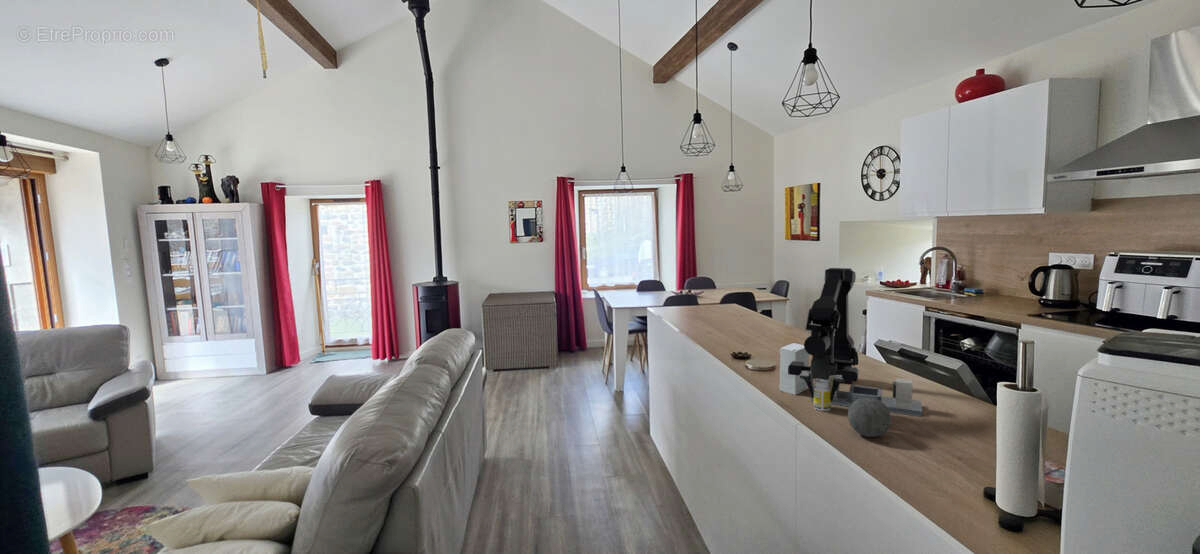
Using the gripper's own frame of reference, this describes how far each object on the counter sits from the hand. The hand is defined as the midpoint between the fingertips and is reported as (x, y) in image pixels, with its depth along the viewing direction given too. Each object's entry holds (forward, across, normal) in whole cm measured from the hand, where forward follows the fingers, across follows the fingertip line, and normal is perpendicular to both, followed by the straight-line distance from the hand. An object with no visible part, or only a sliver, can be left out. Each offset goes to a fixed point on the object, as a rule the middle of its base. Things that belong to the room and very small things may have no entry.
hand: (822, 399), depth 156 cm
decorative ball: (+3, +13, -15) cm, 20 cm away
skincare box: (+3, -10, +13) cm, 17 cm away
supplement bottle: (+3, 0, 0) cm, 3 cm away
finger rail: (+3, +11, +9) cm, 14 cm away
